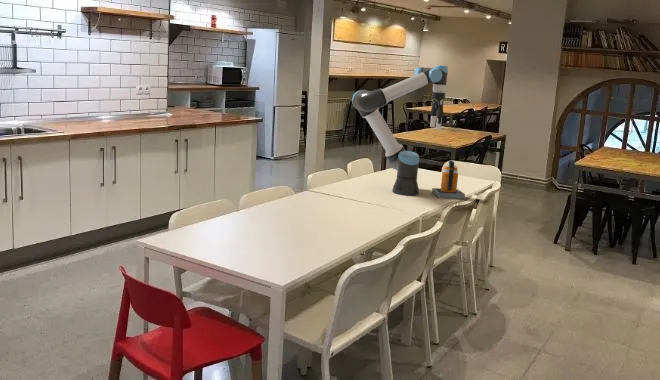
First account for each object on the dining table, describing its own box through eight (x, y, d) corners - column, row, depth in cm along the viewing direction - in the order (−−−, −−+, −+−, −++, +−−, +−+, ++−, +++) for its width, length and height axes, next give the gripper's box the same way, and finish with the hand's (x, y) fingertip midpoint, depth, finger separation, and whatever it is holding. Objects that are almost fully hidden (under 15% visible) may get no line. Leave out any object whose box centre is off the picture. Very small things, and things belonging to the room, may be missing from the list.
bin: (437, 198, 348) (438, 192, 348) (431, 193, 361) (432, 188, 361) (464, 199, 350) (465, 194, 349) (457, 194, 363) (458, 189, 362)
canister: (455, 194, 360) (458, 160, 356) (456, 197, 349) (460, 162, 345) (439, 192, 361) (443, 158, 357) (440, 196, 350) (444, 161, 346)
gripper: (451, 93, 351) (447, 130, 355) (439, 91, 375) (436, 126, 380) (438, 92, 350) (434, 130, 355) (427, 90, 375) (424, 125, 379)
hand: (435, 128), depth 367 cm, fingers open, 13 cm apart
